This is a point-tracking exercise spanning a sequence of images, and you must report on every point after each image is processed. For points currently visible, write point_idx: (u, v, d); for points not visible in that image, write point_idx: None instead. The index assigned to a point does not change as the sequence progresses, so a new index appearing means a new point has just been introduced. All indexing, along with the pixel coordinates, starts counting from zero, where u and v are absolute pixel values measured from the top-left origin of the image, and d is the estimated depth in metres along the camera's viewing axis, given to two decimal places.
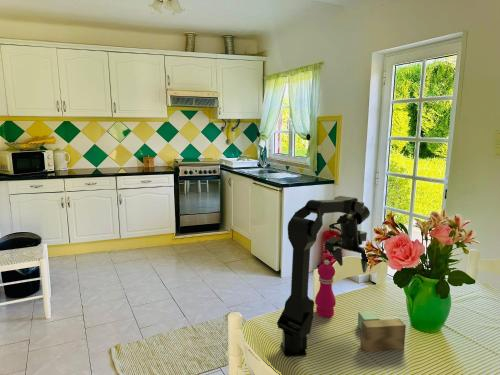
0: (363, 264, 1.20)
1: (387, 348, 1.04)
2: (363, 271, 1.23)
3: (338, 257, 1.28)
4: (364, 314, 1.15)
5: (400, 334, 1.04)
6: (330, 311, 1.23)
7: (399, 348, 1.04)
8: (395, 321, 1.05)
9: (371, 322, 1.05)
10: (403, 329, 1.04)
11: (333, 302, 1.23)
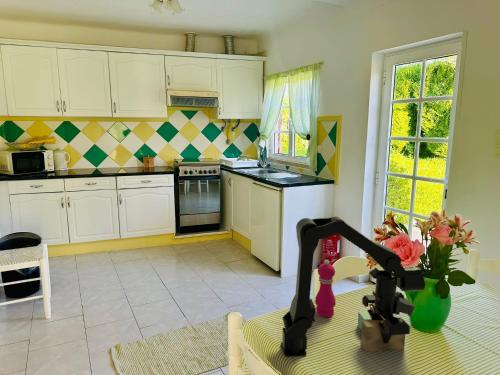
0: (380, 330, 1.02)
1: (387, 348, 1.04)
2: (383, 341, 1.03)
3: None
4: (364, 314, 1.15)
5: None
6: (330, 311, 1.23)
7: (399, 348, 1.04)
8: None
9: (371, 322, 1.05)
10: None
11: (333, 302, 1.23)
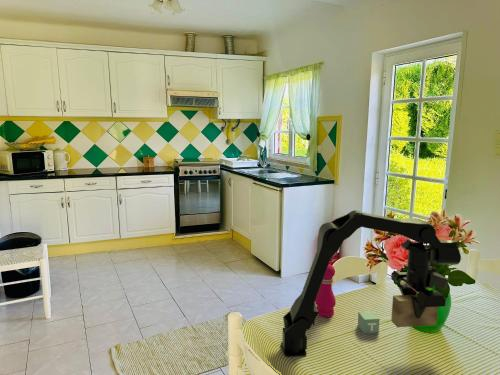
0: (413, 304, 0.98)
1: (419, 323, 1.01)
2: (415, 315, 1.00)
3: None
4: (364, 314, 1.15)
5: (433, 309, 1.01)
6: (330, 311, 1.23)
7: (432, 323, 1.01)
8: None
9: (402, 297, 1.02)
10: None
11: (333, 302, 1.23)
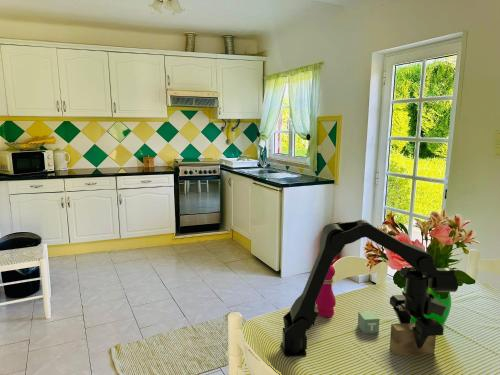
0: (415, 334, 0.98)
1: (417, 351, 1.02)
2: (417, 345, 1.00)
3: (403, 321, 1.07)
4: (364, 314, 1.15)
5: (431, 338, 1.02)
6: (330, 311, 1.23)
7: (429, 352, 1.03)
8: None
9: (400, 325, 1.03)
10: None
11: (333, 302, 1.23)
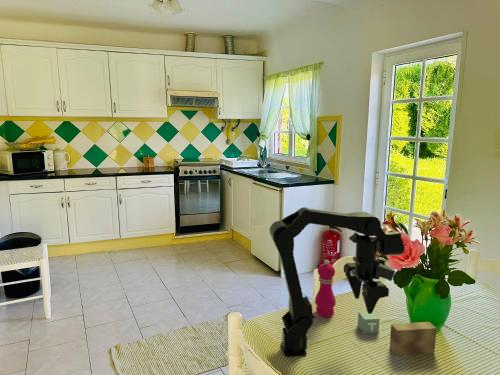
0: (364, 299, 0.98)
1: (417, 351, 1.02)
2: (367, 311, 1.00)
3: (353, 286, 1.09)
4: (364, 314, 1.15)
5: (431, 337, 1.02)
6: (330, 311, 1.23)
7: (429, 351, 1.03)
8: (425, 324, 1.04)
9: (400, 325, 1.03)
10: (434, 332, 1.02)
11: (333, 302, 1.23)
